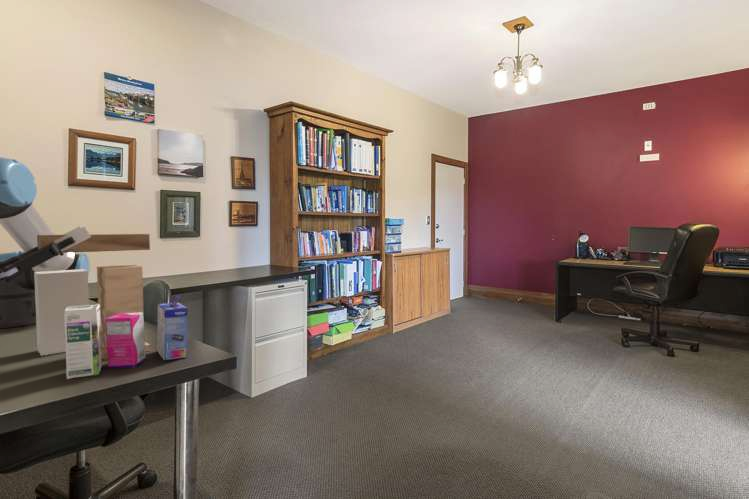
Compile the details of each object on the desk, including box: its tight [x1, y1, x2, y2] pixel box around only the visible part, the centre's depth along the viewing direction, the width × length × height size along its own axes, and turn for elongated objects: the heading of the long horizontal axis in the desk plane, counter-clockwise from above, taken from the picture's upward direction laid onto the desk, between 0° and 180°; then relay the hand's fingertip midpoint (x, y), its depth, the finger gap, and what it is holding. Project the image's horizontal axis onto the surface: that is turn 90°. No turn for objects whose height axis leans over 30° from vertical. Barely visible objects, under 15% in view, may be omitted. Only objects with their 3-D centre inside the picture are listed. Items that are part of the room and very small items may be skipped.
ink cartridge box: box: [156, 294, 189, 361], centre depth 100 cm, size 10×6×14 cm, turn 37°
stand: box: [96, 263, 151, 361], centre depth 103 cm, size 10×10×22 cm
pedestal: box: [34, 269, 90, 357], centre depth 104 cm, size 6×10×20 cm, turn 136°
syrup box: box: [64, 303, 103, 380], centre depth 87 cm, size 6×6×14 cm
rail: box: [37, 233, 151, 253], centre depth 98 cm, size 4×22×4 cm, turn 136°
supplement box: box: [105, 312, 147, 369], centre depth 93 cm, size 6×6×12 cm
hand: (84, 231), depth 97 cm, fingers closed on rail, 4 cm apart
